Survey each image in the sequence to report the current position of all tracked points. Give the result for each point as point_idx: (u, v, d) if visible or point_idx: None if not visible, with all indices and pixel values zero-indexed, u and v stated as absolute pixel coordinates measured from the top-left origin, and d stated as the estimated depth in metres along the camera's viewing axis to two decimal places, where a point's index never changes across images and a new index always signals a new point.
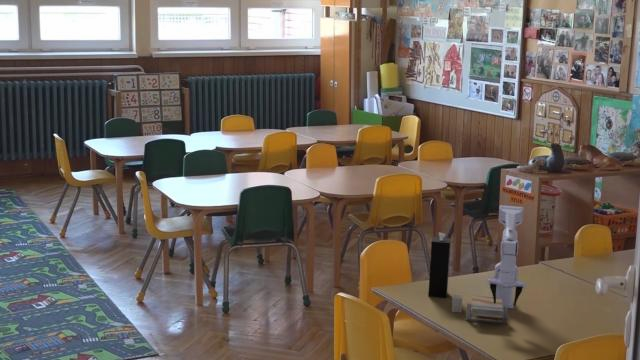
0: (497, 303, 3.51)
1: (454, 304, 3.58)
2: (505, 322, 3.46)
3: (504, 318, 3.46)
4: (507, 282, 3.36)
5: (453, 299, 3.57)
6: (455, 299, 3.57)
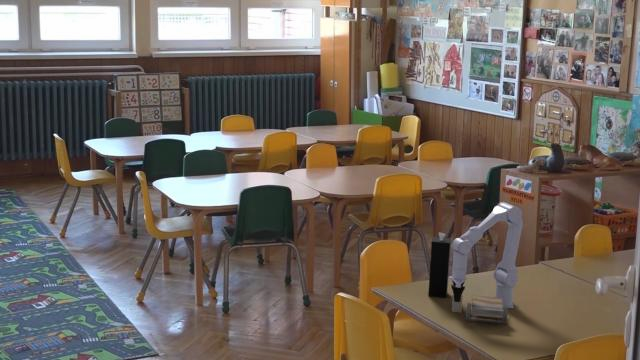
0: (497, 303, 3.51)
1: (454, 304, 3.58)
2: (505, 322, 3.46)
3: (504, 318, 3.46)
4: (452, 276, 3.57)
5: (453, 299, 3.57)
6: None
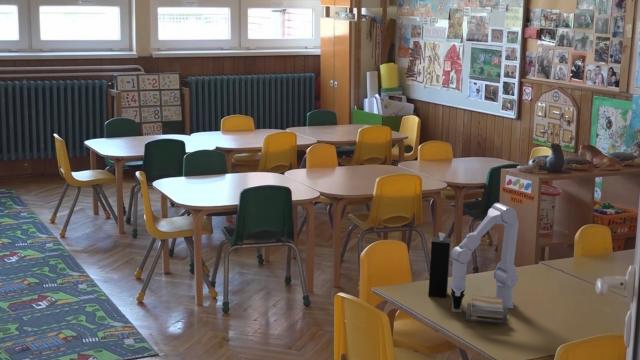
0: (497, 303, 3.51)
1: None
2: (505, 322, 3.46)
3: (504, 318, 3.46)
4: (451, 284, 3.58)
5: None
6: None
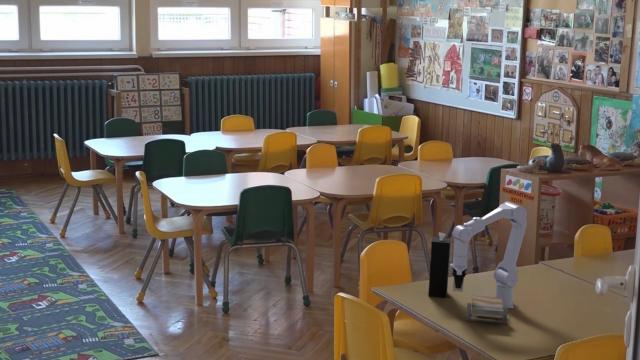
0: (497, 303, 3.51)
1: None
2: (505, 322, 3.46)
3: (504, 318, 3.46)
4: None
5: None
6: None
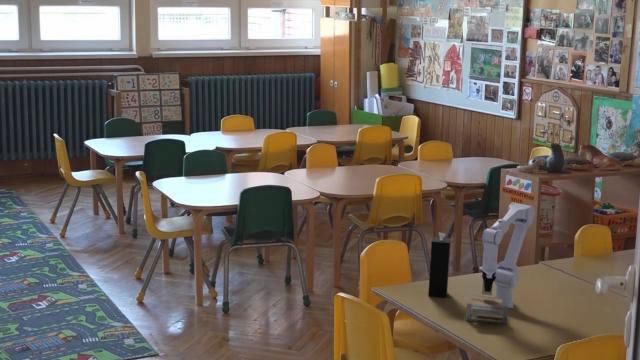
0: (497, 303, 3.51)
1: None
2: (505, 322, 3.46)
3: (504, 318, 3.46)
4: (482, 266, 3.53)
5: (483, 282, 3.52)
6: None
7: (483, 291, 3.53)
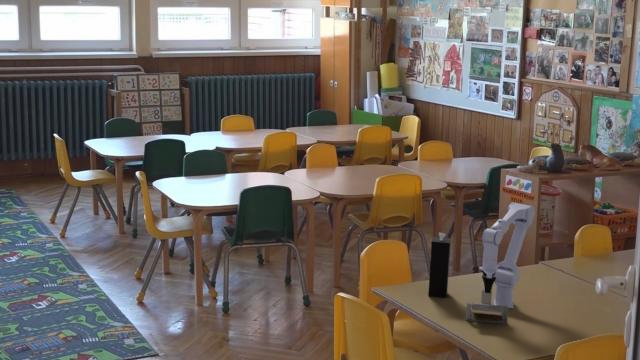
0: None
1: (484, 297, 3.54)
2: (505, 322, 3.46)
3: (504, 318, 3.46)
4: (482, 266, 3.53)
5: (483, 291, 3.55)
6: None
7: (482, 301, 3.54)
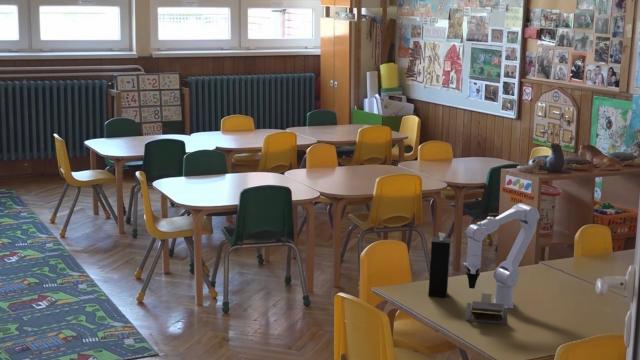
0: None
1: (483, 300, 3.55)
2: (505, 322, 3.46)
3: (504, 318, 3.46)
4: (466, 262, 3.58)
5: (482, 295, 3.55)
6: (484, 295, 3.55)
7: None
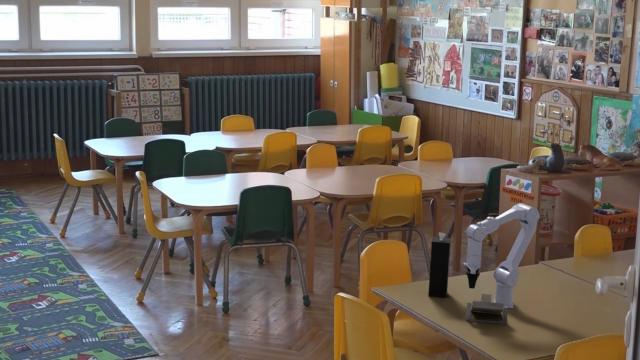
0: None
1: (483, 300, 3.55)
2: (505, 322, 3.46)
3: (504, 318, 3.46)
4: (466, 262, 3.58)
5: (482, 295, 3.56)
6: (484, 295, 3.55)
7: None
